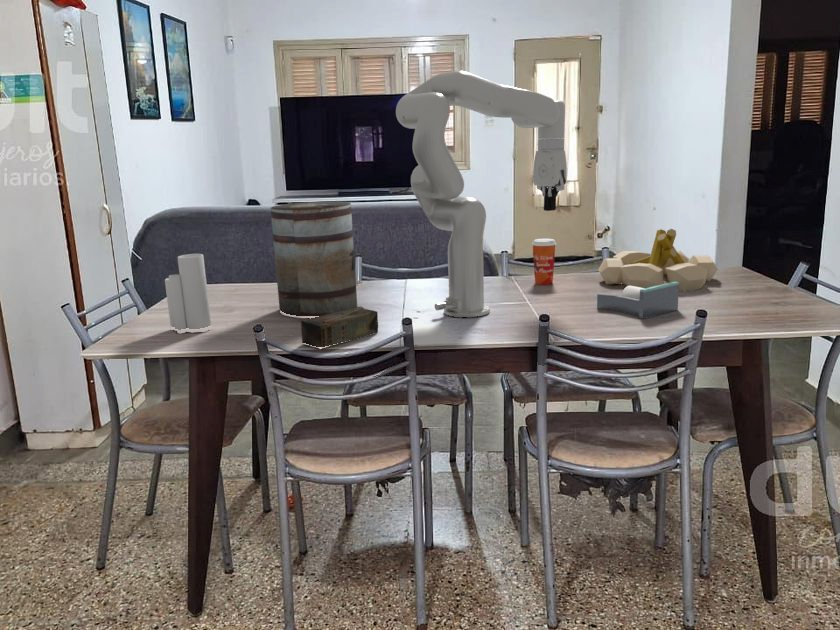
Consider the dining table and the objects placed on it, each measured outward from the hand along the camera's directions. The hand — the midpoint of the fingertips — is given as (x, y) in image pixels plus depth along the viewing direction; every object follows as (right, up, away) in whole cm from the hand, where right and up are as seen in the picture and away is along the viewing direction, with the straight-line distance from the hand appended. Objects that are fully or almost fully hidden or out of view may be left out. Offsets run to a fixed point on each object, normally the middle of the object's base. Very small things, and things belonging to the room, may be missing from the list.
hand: (549, 210), depth 210 cm
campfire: (+38, -20, +19) cm, 47 cm away
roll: (+22, -29, -16) cm, 40 cm away
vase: (-99, -35, -18) cm, 107 cm away
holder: (+21, -29, -15) cm, 39 cm away
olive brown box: (-57, -37, -31) cm, 75 cm away
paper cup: (+2, -20, +22) cm, 30 cm away
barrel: (-67, -29, 0) cm, 73 cm away
